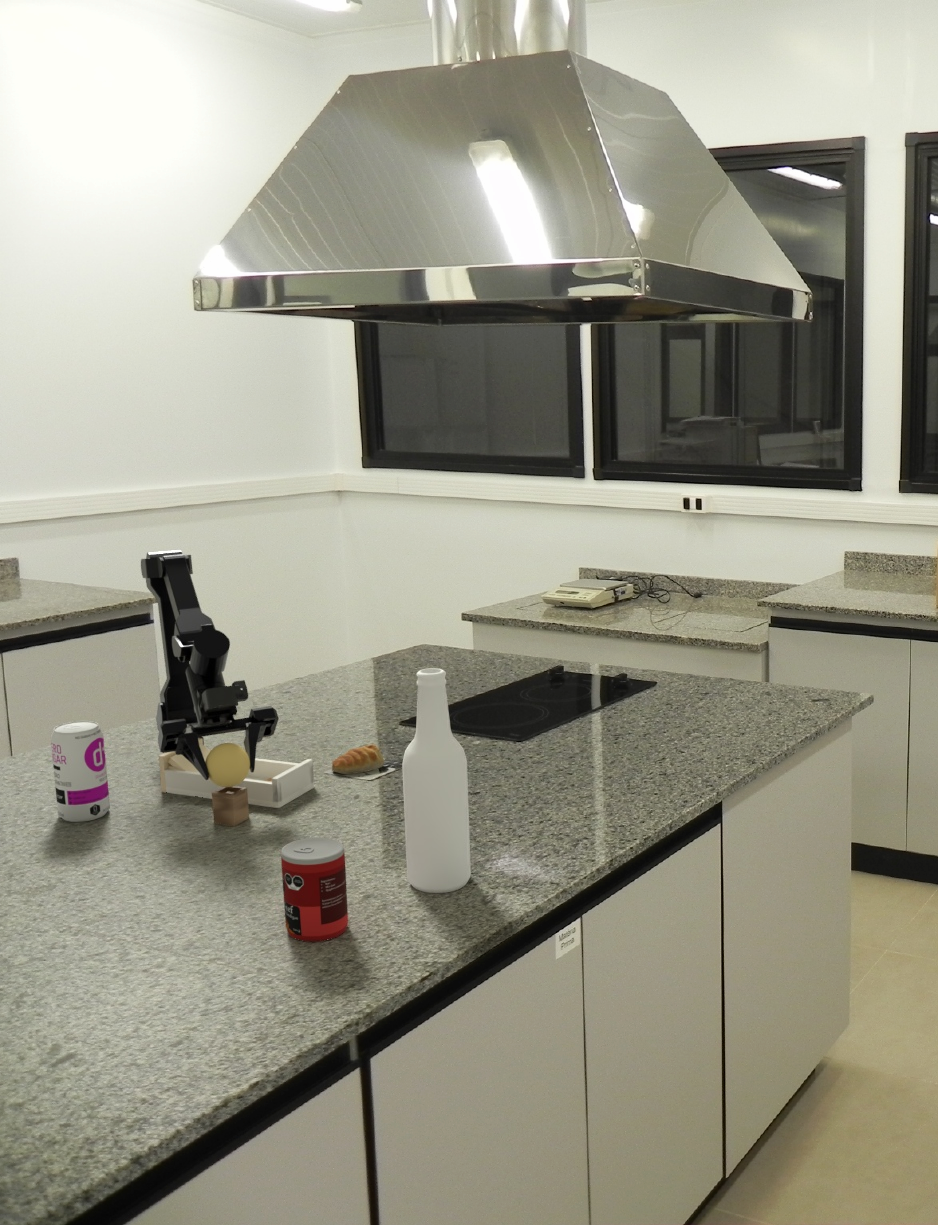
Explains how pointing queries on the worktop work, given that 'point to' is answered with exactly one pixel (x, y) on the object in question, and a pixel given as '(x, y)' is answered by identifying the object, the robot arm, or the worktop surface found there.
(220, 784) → the ball
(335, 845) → the canned food
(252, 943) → the worktop surface
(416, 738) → the alcohol
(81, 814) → the supplement can
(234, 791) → the wooden square cup
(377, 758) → the pastry
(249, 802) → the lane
